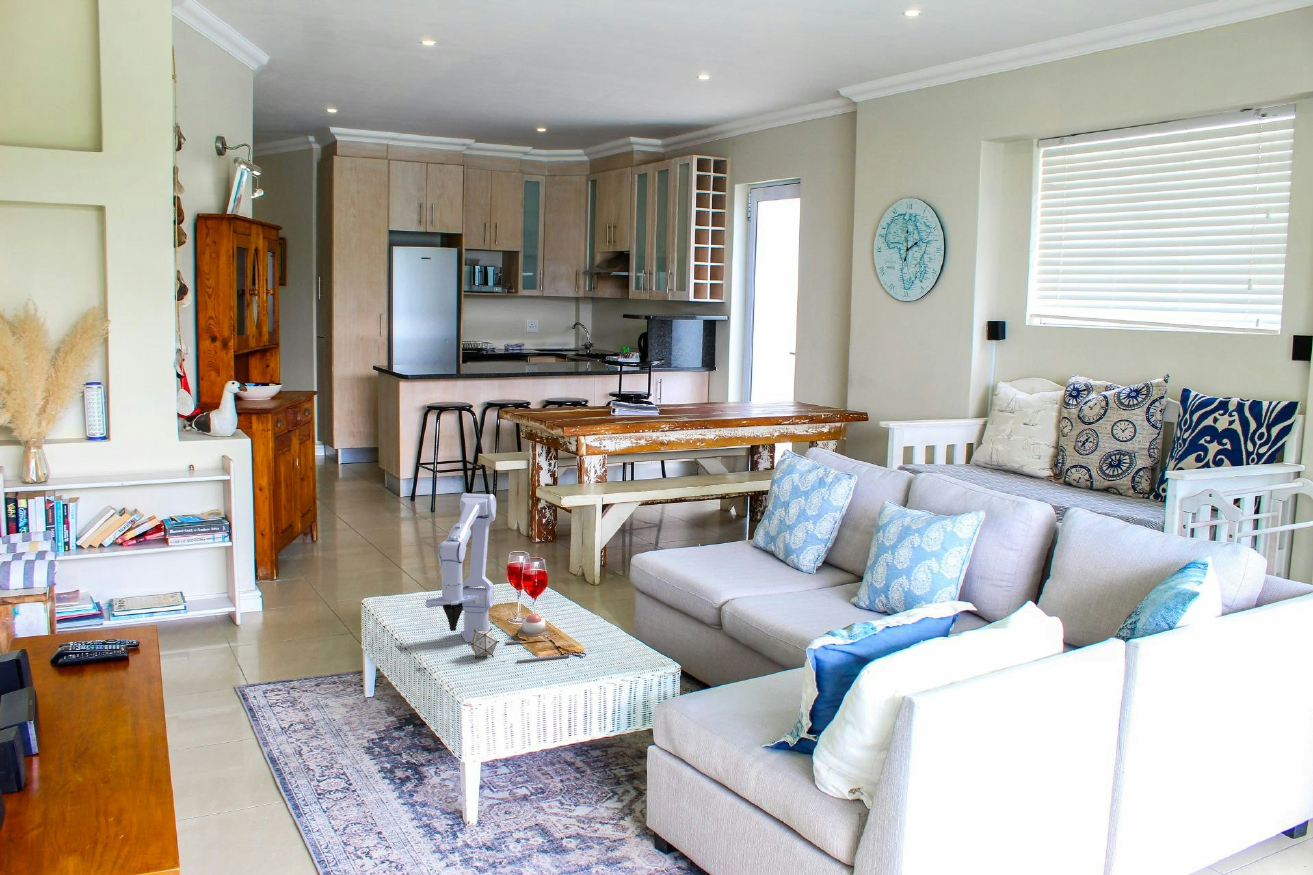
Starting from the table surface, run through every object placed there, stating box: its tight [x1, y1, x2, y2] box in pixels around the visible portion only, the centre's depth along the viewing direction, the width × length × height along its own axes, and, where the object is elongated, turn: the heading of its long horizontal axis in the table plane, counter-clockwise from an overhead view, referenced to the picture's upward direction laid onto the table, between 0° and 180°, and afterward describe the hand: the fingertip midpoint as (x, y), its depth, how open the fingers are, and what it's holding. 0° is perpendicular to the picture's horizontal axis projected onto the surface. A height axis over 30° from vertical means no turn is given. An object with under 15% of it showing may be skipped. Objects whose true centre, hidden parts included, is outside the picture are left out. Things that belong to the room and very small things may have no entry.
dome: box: [521, 613, 546, 634], centre depth 320 cm, size 7×7×5 cm
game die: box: [467, 627, 500, 660], centre depth 300 cm, size 9×8×10 cm
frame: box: [504, 640, 570, 664], centre depth 306 cm, size 17×15×1 cm
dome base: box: [516, 626, 551, 637], centre depth 320 cm, size 10×10×2 cm
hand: (452, 629), depth 295 cm, fingers closed
